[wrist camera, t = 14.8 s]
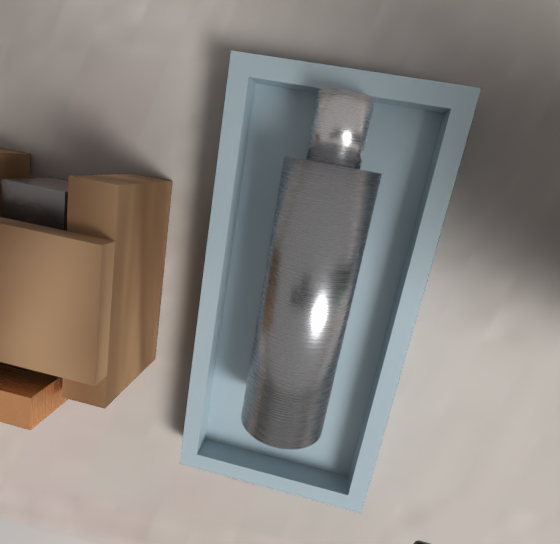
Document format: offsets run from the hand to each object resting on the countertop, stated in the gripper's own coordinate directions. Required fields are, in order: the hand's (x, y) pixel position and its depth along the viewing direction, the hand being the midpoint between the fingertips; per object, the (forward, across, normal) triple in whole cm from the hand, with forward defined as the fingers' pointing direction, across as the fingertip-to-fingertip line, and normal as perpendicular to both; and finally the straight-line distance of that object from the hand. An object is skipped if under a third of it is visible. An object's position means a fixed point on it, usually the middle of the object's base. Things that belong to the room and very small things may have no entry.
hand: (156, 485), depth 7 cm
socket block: (+12, +10, +1) cm, 16 cm away
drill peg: (+12, -2, -2) cm, 12 cm away
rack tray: (+12, -2, 0) cm, 12 cm away
